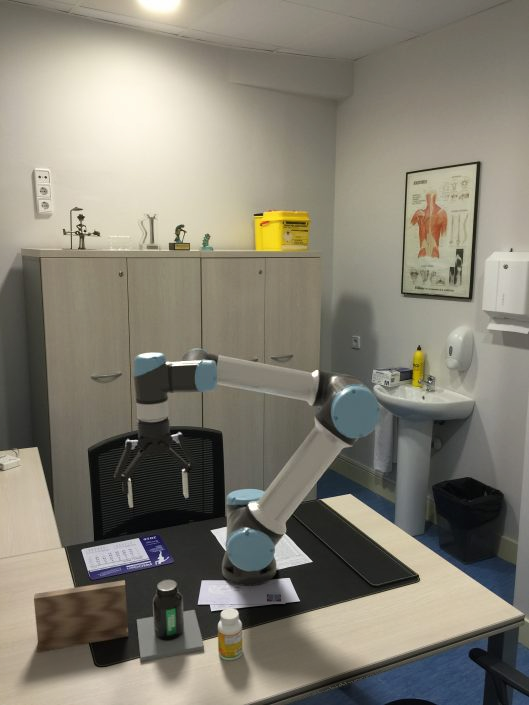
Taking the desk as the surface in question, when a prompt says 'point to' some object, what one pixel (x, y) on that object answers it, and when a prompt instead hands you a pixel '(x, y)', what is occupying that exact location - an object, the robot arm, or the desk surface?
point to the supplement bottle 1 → (168, 611)
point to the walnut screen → (80, 615)
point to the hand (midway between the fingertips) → (158, 500)
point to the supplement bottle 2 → (230, 635)
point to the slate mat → (161, 648)
